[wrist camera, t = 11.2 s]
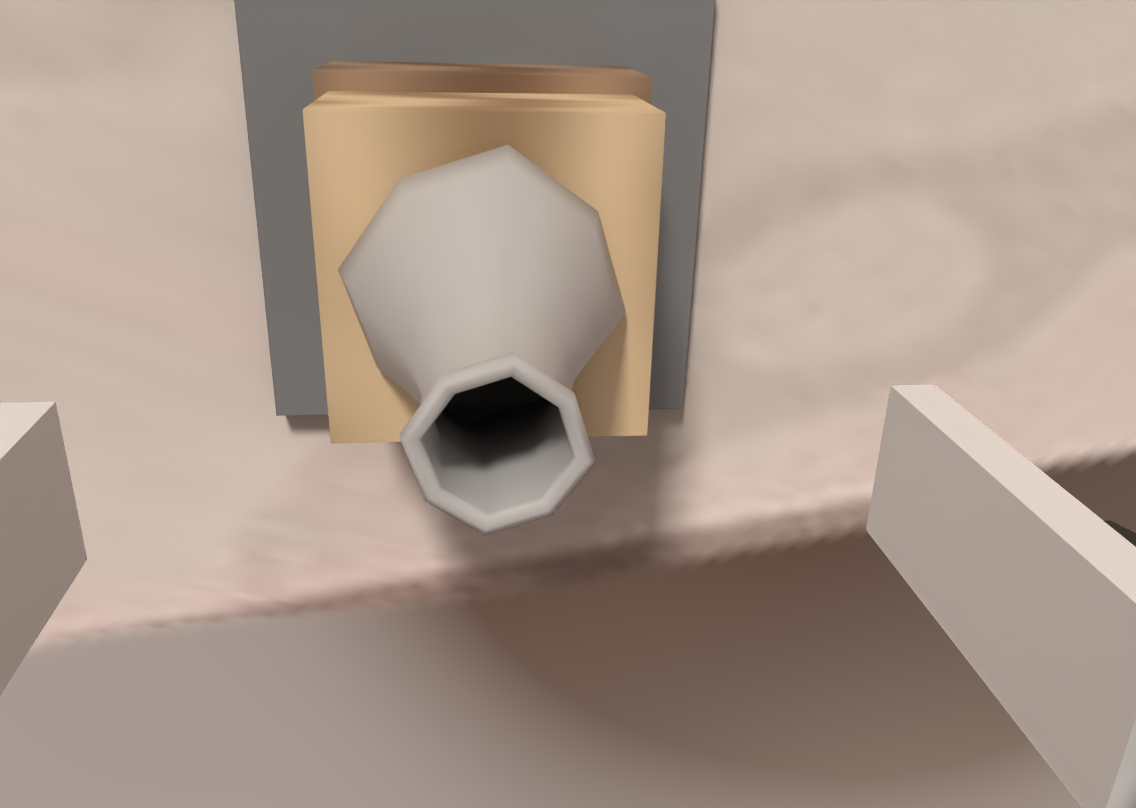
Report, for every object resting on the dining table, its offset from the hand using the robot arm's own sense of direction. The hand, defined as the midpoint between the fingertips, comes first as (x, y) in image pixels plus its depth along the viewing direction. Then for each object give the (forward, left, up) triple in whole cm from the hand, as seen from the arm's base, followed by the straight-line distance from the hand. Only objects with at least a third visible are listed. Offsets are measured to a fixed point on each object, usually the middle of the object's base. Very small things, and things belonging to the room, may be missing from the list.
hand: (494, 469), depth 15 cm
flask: (0, 0, -11) cm, 11 cm away
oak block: (0, 0, -16) cm, 16 cm away
